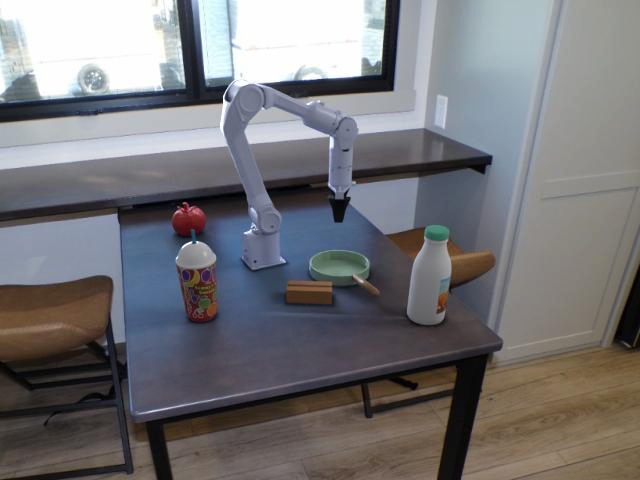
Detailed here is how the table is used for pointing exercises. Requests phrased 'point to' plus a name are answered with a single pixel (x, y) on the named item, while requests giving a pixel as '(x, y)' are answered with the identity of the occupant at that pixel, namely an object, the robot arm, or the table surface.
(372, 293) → the pan handle
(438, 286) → the milk bottle
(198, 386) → the table surface
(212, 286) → the smoothie
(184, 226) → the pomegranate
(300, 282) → the taped cardboard box
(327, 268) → the pan
